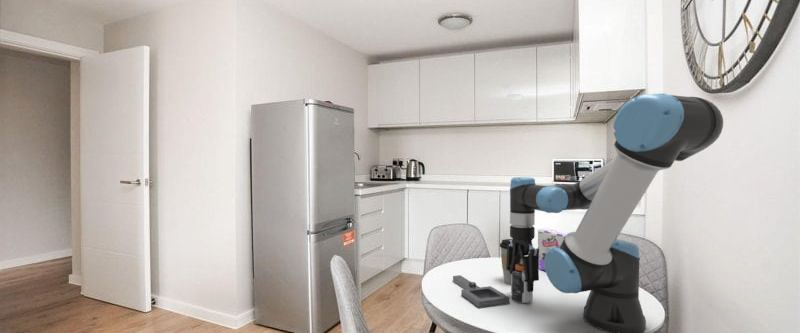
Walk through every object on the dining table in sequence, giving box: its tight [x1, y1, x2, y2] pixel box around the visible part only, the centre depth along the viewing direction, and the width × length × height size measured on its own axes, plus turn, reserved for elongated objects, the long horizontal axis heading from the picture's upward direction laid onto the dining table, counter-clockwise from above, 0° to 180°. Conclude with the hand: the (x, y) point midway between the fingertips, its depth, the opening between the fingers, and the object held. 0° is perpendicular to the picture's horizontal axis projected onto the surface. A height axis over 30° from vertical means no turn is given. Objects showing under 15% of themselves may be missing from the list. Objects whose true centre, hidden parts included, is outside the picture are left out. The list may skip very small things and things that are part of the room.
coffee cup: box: [499, 238, 523, 285], centre depth 139 cm, size 9×9×15 cm
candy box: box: [537, 228, 568, 273], centre depth 150 cm, size 14×6×16 cm, turn 25°
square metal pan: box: [452, 274, 511, 309], centre depth 128 cm, size 25×11×3 cm, turn 19°
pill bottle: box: [511, 264, 531, 304], centre depth 122 cm, size 6×6×11 cm
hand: (521, 297), depth 122 cm, fingers closed on pill bottle, 6 cm apart
